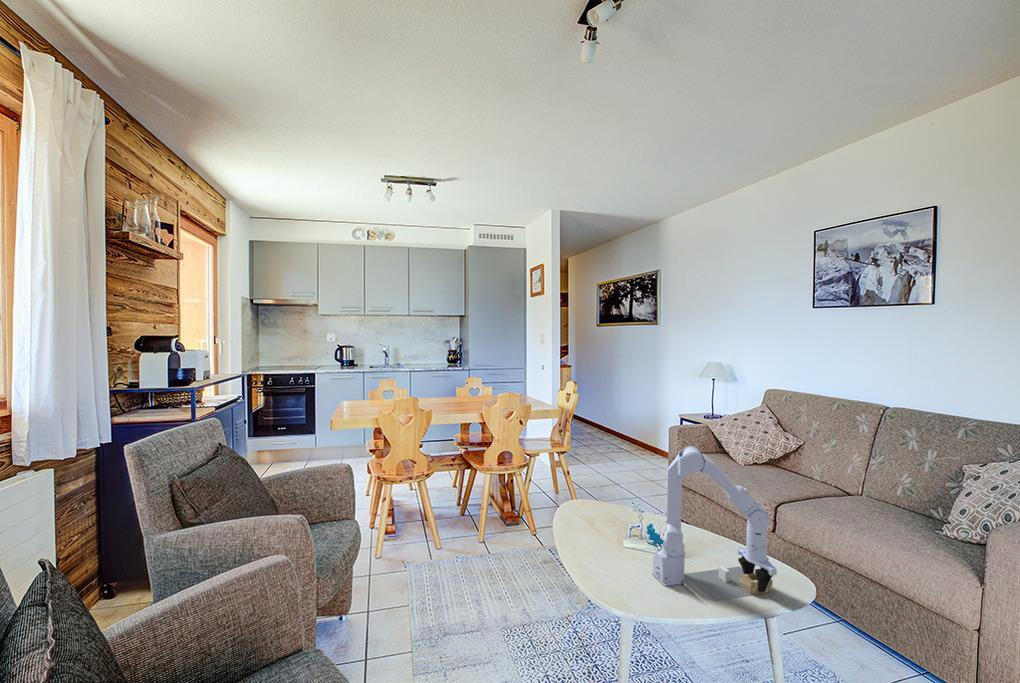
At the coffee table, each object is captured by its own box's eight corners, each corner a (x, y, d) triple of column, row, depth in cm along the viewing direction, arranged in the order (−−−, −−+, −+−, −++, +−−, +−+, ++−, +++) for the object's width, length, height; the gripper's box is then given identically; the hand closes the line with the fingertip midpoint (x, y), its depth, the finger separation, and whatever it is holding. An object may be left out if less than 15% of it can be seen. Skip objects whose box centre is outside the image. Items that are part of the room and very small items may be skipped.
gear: (658, 550, 173) (644, 524, 179) (647, 557, 176) (634, 531, 182) (675, 546, 179) (661, 521, 185) (664, 552, 182) (651, 528, 188)
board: (714, 604, 142) (715, 589, 142) (683, 576, 157) (683, 563, 157) (776, 595, 147) (776, 580, 147) (739, 569, 162) (739, 556, 162)
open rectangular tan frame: (750, 594, 145) (750, 582, 145) (738, 585, 150) (739, 574, 150) (772, 591, 147) (772, 579, 147) (760, 582, 152) (760, 571, 152)
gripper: (785, 553, 142) (784, 597, 142) (750, 532, 156) (749, 573, 157) (766, 555, 140) (764, 600, 141) (732, 534, 154) (731, 575, 155)
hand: (755, 586), depth 149 cm, fingers closed on open rectangular tan frame, 5 cm apart
